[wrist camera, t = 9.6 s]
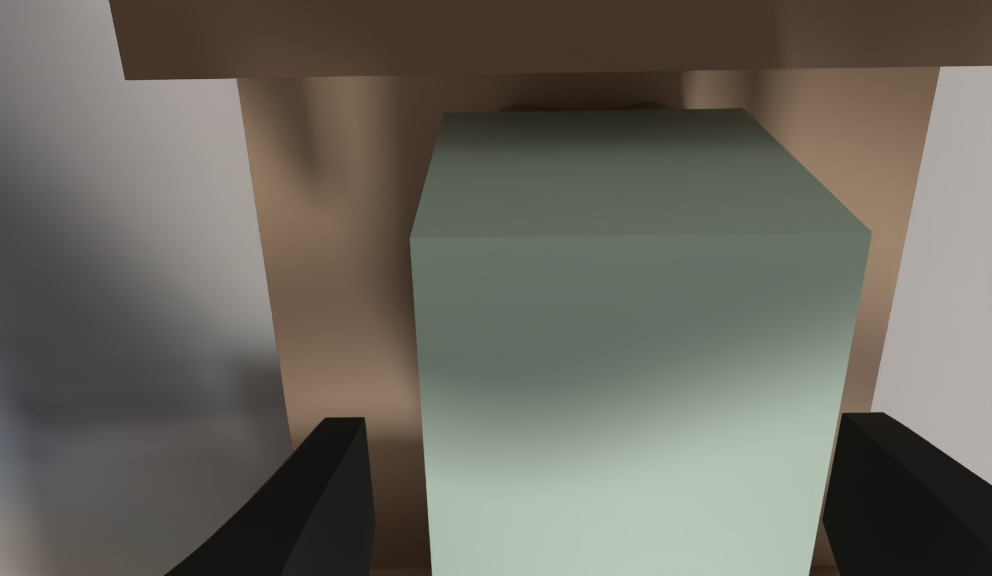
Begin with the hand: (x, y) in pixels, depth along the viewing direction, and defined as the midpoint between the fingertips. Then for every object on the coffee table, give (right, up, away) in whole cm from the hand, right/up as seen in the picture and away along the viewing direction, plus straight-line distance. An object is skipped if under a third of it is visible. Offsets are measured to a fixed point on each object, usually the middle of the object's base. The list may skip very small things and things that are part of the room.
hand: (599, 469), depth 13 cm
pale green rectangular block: (0, +1, +2) cm, 2 cm away
